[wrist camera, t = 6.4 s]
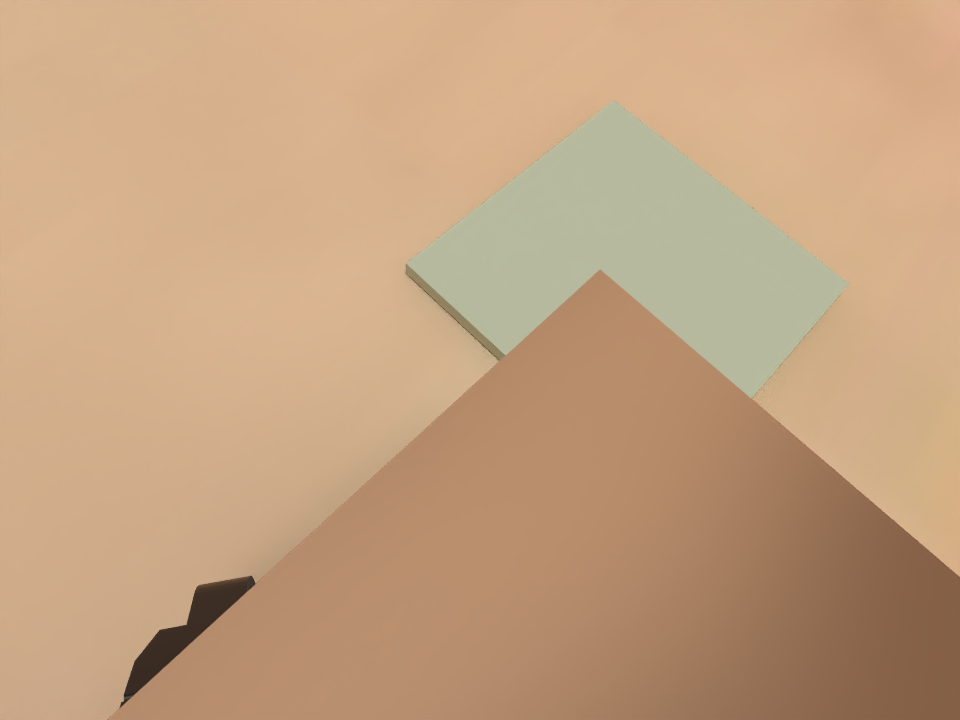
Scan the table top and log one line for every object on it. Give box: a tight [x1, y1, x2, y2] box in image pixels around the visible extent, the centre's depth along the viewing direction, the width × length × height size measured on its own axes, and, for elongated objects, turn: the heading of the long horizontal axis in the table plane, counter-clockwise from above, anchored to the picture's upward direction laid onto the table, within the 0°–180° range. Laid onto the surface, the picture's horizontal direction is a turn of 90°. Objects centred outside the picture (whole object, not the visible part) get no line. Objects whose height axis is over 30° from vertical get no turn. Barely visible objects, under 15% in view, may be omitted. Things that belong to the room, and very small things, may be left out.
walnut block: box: [108, 270, 960, 720], centre depth 10 cm, size 5×5×11 cm
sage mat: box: [406, 100, 849, 398], centre depth 20 cm, size 9×9×1 cm
